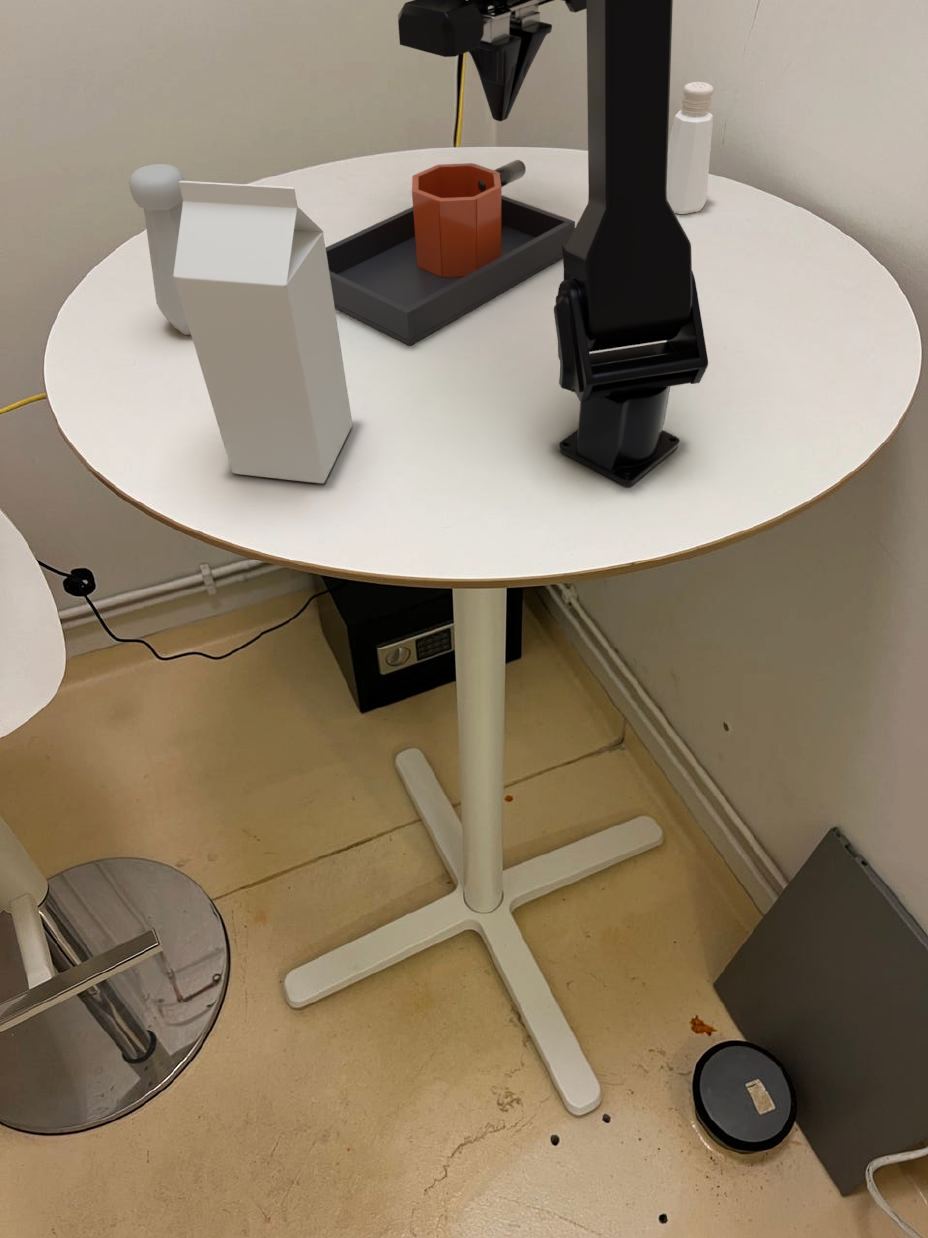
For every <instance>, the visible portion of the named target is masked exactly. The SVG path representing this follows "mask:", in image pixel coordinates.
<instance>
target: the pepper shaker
mask: <svg viewBox="0 0 928 1238" xmlns="http://www.w3.org/2000/svg"><path fill="white" fill-rule="evenodd" d="M682 90H683V97H682V101H681V104H682V106H681V109H680V110H679V111H678V112H677V113H676V114H675V116H674V118H673V122H672V125H671V130H670V133H669V137H668V162H667V201H668V203H669V205H670V206H671V208H672V210H673V212H674V214H678V215H687V214H693V213H697V212H700V211H702V209H703V207H704V206H705V204H706V203H707V197H708V184H709V172H710V163H711V160H710V159H711V148H712V137H713V127H714V124H713V123H714V115H713V114H712V113H711V112H709V111H710V105H711V100H712V95H713V93H714V87H713V85H711V84H710V83H708V82H705V81H692V82H688V83H686V84H685V85H684V86H683V89H682Z"/></svg>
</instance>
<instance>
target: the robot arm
mask: <svg viewBox="0 0 928 1238" xmlns="http://www.w3.org/2000/svg"><path fill="white" fill-rule="evenodd" d="M554 1H555V0H409V1H407V2H404V4H403V5H402V8H401V9H400V10H399V12H398V14H397V24H398V37H399V45H400V46H403V47H407V48H410V49H415V50H418V51H421V52H425V53H429V54H432V55H435V56H440V57H444V58H453V57H455V58H456V57H459V56H460V55H464V54H466V53H468V54H469V55H470V57H471V59H472V60H473V63H474V66H475V68H476V71H477V73H478V76H479V79H480V82H481V85H482V89H483V92H484V95H485V98H486V101H487V104H488V109H489V111H490V114H491V117H492V119H493V120H494V121H498V122H500V123H501V122H503V121H505V120H507V119H508V117H509V116H510V113H511V111H512V109H513V106H514V104H515V102H516V99H517V97H518V95H519V92H520V90H521V88H522V86H523V84H524V81H525V79H526V77H527V75H528V72H529V71H530V68H531V66H532V64H533V61H535V59H536V56H537V54H538V51H539V50H540V48H541V46H542V44H543V42H544V40H545V38H546V37H547V35H549V34H551V33H552V29H553V24H551V23H548V22H543V21H541V12H540V11H539V6H543V5H545V4H548V3H550V2H554ZM561 1H563V2H564V4H565V5H566V7H567V8H568V11H569V12H571V13H578V12H581V11H585V10H586V88H587V94H586V95H587V99H586V100H587V163H588V164H587V172H588V175H587V177H588V181H587V182H588V183H587V184H588V196H587V197H588V199H587V204H586V206H585V208H584V210H583V211H582V214H581V216H580V218H579V219H578V222H577V223H576V225H575V228H569V229H568V230H567V232H566V234H565V237H564V240H563V242H562V251H563V258H562V263H563V280H562V281H561V282H560V284H559V286H558V289H557V295H556V296H555V305H554V306H553V315H554V322H555V323H554V325H555V332H556V339H557V356H558V357H557V358H558V360H559V377H558V384H559V386H560V388H561V389H563V390H566V391H569V392H571V393H575V395H576V397H577V399H578V401H579V414H578V426H577V429H576V430H575V431H573V432H572V433H571V434H569V435H568V436H567V437H565V438H564V439H562V440H561V441H560V442H559V445H558V450H559V451H560V452H561V453H562V454H564V455H566V456H568V457H569V458H572V459H574V460H576V461H577V462H579V463H582V464H583V465H585V466H587V467H589V468H590V469H593V470H594V471H597V472H599V473H601V474H603V475H604V476H607V477H608V478H610V479H612V480H614V481H616V482H618V483H620V484H621V485H624V486H631V485H633V484H634V483H636V482H637V481H638V480H639V479H641V478H642V477H643V476H645V475H646V473H648V472H649V471H651V470H652V469H653V468H654V467H655V466H657V465H658V464H659V463H660V462H662V461H663V460H664V459H665V458H666V457H668V456H669V455H670V454H672V452H674V451H675V450H676V449H677V448H678V447H679V444H680V439H679V437H677V436H675V435H673V434H671V433H669V432H667V431H666V430H663V427H664V425H665V420H666V419H665V418H666V413H667V408H668V403H669V397H670V391H671V387H674V386H681V385H687V384H691V385H696V384H700V383H701V381H702V379H703V376H704V374H705V373H706V371H707V368H708V366H709V358H708V352H707V345H706V338H705V332H704V327H703V320H702V315H701V309H700V301H699V296H698V290H697V283H696V278H695V275H694V271H693V265H692V263H693V262H692V244H691V241H690V239H689V237H688V235H687V234H686V232H685V230H684V228H683V226H682V224H681V223H680V221H679V219H678V217H677V216H676V213H674V212H673V210H672V208H671V206H670V205H669V203H668V201H667V162H668V142H669V127H670V101H671V100H670V98H671V97H670V95H671V93H670V92H671V70H672V69H671V65H672V63H671V62H672V38H673V37H672V36H673V34H672V33H673V6H674V5H673V3H674V2H673V1H674V0H561Z"/></svg>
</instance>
